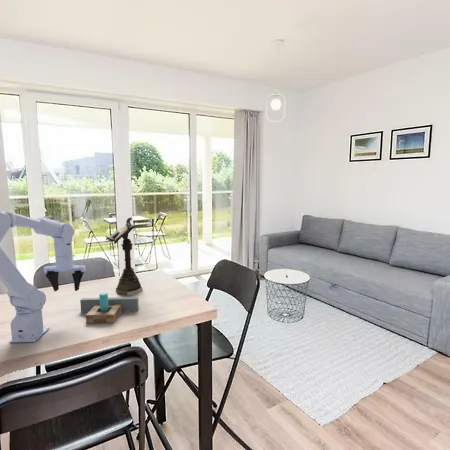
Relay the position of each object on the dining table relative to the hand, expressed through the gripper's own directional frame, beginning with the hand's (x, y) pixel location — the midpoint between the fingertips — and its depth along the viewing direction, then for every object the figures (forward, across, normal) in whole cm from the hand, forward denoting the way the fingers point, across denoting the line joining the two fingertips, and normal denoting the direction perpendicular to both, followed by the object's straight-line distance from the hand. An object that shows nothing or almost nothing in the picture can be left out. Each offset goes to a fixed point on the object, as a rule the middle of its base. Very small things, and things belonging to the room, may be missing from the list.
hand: (66, 290), depth 120 cm
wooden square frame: (+10, -14, +1) cm, 17 cm away
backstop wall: (+11, -14, -6) cm, 18 cm away
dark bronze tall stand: (+11, -14, -26) cm, 31 cm away
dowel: (+10, -14, +1) cm, 17 cm away
